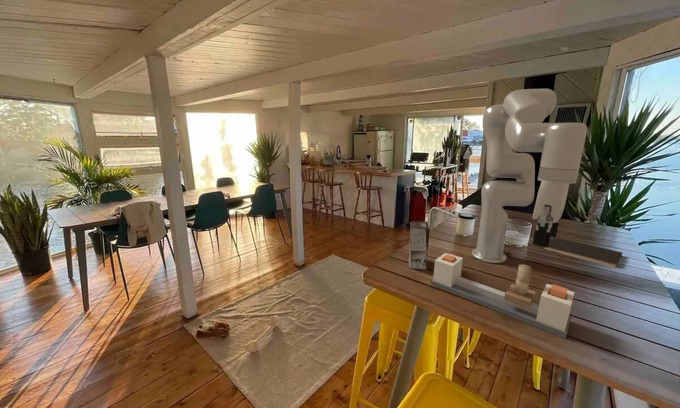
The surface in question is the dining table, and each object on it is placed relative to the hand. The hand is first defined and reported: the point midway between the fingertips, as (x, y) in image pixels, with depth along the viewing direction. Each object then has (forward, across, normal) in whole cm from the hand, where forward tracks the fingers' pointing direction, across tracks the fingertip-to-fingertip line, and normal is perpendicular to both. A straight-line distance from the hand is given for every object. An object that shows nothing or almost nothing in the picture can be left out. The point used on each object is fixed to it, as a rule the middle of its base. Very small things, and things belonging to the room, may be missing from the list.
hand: (544, 240), depth 71 cm
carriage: (+19, 0, -3) cm, 19 cm away
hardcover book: (+23, -64, +5) cm, 68 cm away
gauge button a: (+16, 0, -24) cm, 29 cm away
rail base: (+22, 0, -10) cm, 25 cm away
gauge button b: (+16, 0, +5) cm, 16 cm away
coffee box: (+23, -5, -39) cm, 45 cm away
